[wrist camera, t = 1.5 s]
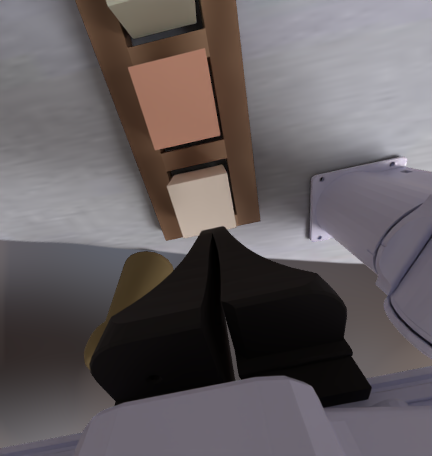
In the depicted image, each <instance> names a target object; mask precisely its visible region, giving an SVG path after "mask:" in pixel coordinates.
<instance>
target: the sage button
mask: <svg viewBox="0 0 432 456" xmlns="http://www.w3.org/2000/svg"><path fill="white" fill-rule="evenodd" d="M106 2H107V5H108V7H109V9H110V10H111V11H112V12H113V14H114V15H115V16H116V18H117V19H118V20H119V21H120V23H121V24H122V25H123V27H124V28H125V29H126V30H127V32H128V33H129V34H130V36H131V37H132V38H133V39H136V38H140V37H144V36H148V35H152V34H156V33H159V32H163V31H167V30H171V29H175V28H179V27H183V26H187V25H191V24H195V23H196V9H195V0H106Z"/></svg>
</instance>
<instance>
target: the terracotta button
mask: <svg viewBox="0 0 432 456" xmlns="http://www.w3.org/2000/svg"><path fill="white" fill-rule="evenodd" d="M128 70H129V73H130V76H131V79H132V82H133V85H134V88H135V91H136V94H137V97H138V100H139V103H140V106H141V109H142V112H143V115H144V119H145V122H146V125H147V128H148V131H149V134H150V137H151V140H152V143H153V146H154V149H155V150H159V149H164V148H168V147H172V146H177V145H181V144H185V143H190V142H194V141H198V140H203V139H207V138H212V137H216V136H220V130H219V125H218V119H217V113H216V108H215V102H214V96H213V91H212V85H211V79H210V73H209V68H208V62H207V56H206V51H205V48H203V49H199V50H195V51H191V52H187V53H183V54H179V55H175V56H171V57H167V58H163V59H159V60H155V61H151V62H147V63H143V64H139V65H135V66H131V67H128Z"/></svg>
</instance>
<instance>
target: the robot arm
mask: <svg viewBox="0 0 432 456" xmlns="http://www.w3.org/2000/svg"><path fill="white" fill-rule="evenodd" d="M391 162H392V163H391ZM390 163H391V165H390ZM406 164H407V158H406V157H396V158H392V159H387V160H382V161H378V162H373V163H368V164H364V165H359V166H355V167H350V168H345V169H341V170H336V171H331V172H327V173H322V174H318V175H314V176H313V177H312V178H311V196H310V240H311V241H312V242H317V241H322V240H327V239H332V238H334V239H335V240H336V241H338V242H339V243H340V244H341V245H342V246H344V247H345V248H346V249H347V250H348V251H350V252H351V253H352V254H353V255H354V256H356V257H357V258H358V259H359V260H360V261H362V262H363V263H364V264H365V265H367V266H368V267H369V268H370V269H371V270H373V271H374V272H375V273H376V274H377V275H378V279H377V281H376V285H377V286H378V287H379V288H380V289H381V290H382V291H383V292H385V293H386V294H387V295H388V296H387V298H386V299H385V301H384V309H385V312H386V314H387V316H388V318H389V319H390V321H391V322H392V324H393V325H394V326H395V327H396V328H397V330H398V331H399V332H400V333H401V334H402V336H404V337H405V339H407V340H408V341H409V342H410V343H411V344H412V345H413V346H414V347H416V348H417V349H418V350H419V351H421V352H422V353H423V354H425V355H426V356H428V357H429V358H430V359H432V172H429V171H424V170H419V169H413V168H408V167H406ZM321 177H323V179H322V180H321V181H320V178H321ZM318 236H320V237H319V238H318ZM225 317H226V319H225ZM346 319H347V309H346V306H345V304H344V302H343V301H342V300H341V298H340V297H339V296H338V295H337V293H336V292H335V291H334V290H333V289H332V288H331V287H330V286H329V285H328V283H326V282H325V281H324V280H323V279H322V278H321V277H320V276H319V275H318V274H317V273H313V272H309V271H304V270H300V269H295V268H291V267H288V266H285V265H281V264H279V263H276V262H273V261H271V260H268V259H266V258H264V257H262V256H260V255H258V254H256V253H254V252H252V251H251V250H249V249H248V248H246V247H245V246H244V245H242V244H241V243H240V242H239V241H238V240H236V239H235V238H234V237H233V236H232V235H231V234H230V233H229V232H228V230H227V229H226V227H224V226H221V227H216V228H212V229H207V230H203V231H201V233H200V234H199V236H198V238H197V240H196V241H195V243H194V245H193V246H192V248H191V249H190V251H189V252H188V254H187V255H186V257H185V258H184V259H183V261H182V262H181V263H180V264H179V265H178V266H177V267H176V268H175V270H174V271H173V272H172V273H171V274H169V275H168V276H167V277H166V278H165V279H164V280H163V281H162V282H161V283H160V284H158V285H157V286H156V287H155V288H153V289H152V290H151V291H150V292H148V293H147V294H146V295H144V296H143V297H141V298H140V299H139V300H137V301H136V302H134V303H133V304H131V305H129V306H128V307H126V308H125V309H123V310H122V311H120V312H118V313H117V314H115V315H113V316H112V317H111V318H110V320H109V322H108V324H107V326H106V328H105V330H104V332H103V334H102V336H101V338H100V341H99V343H98V345H97V347H96V349H95V351H94V353H93V355H92V357H91V360H90V364H89V366H90V371H91V374H92V376H93V377H94V378H95V380H96V381H97V382H98V383H99V385H100V386H102V388H103V389H104V390H105V391H106V392H107V393H108V394H109V395H110V396H111V397H112V398H113V399H114V400H115V401H116V402H115V406H113V407H111V408H108V409H105V410H102V411H100V412H99V413H98V414H96V415H95V416H94V417H93V418H92V419H91V420H90V422H89V423H88V425H87V426H86V427H85V428H84V430H83V432H82V433H77V434H71V435H66V436H61V437H55V438H51V439H45V440H40V441H35V442H29V443H24V444H19V445H13V446H9V447H4V448H0V456H432V366H429V367H423V368H418V369H413V370H407V371H402V372H397V373H392V374H386V375H381V376H376V377H371V378H365V376H364V375H363V373H362V372H361V370H360V369H359V367H358V366H357V364H356V363H355V361H354V360H353V358H352V357H351V356H352V354H353V352H352V349H351V348H350V346H349V345H348V343H347V342H346V341H345V339H344V332H345V325H346ZM226 321H227V325H228V328H229V332H230V335H231V339H232V342H233V346H234V349H235V355H236V361H237V368H238V373H239V377H240V378H241V380H238V381H235V377H234V370H233V364H232V357H231V352H230V345H229V340H228V339H229V338H228V332H227V325H226Z"/></svg>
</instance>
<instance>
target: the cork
mask: <svg viewBox="0 0 432 456" xmlns="http://www.w3.org/2000/svg"><path fill="white" fill-rule="evenodd" d="M173 271H174V270H173V266H172V264H171V263H170V262H169V260H168V259H166V258H165V257H163V256H162V255H160V254H157V253H155V252H148V251H144V252H137V253H135V254H133V255H131V256H130V257H129V258H128V259H127V260H126V262H125V264H124V267H123V270H122V273H121V276H120V279H119V282H118V285H117V288H116V291H115V294H114V297H113V300H112V303H111V306H110V309H109V313H108V315H107V318H106V321H105V322H104V323H102V324H101V325H100V326H98V327H97V328H96V330H95V331H94V332H93V333H92V335H91V337H90V338H89V340H88V343H87V345H86V348H85V351H84V360H85V365H86V366H87V367H88V368H89V370H90V366H89V364H90V360H91V357H92V355H93V353H94V351H95V349H96V347H97V345H98V343H99V341H100V338H101V336H102V334H103V332H104V330H105V328H106V326H107V324H108V322H109V320H110V318H111V317H112V316H113V315H115V314H117V313H118V312H120V311H122V310H123V309H125V308H126V307H128V306H129V305H131V304H133V303H134V302H136V301H137V300H139V299H140V298H141V297H143V296H144V295H146V294H147V293H148V292H150V291H151V290H152V289H153V288H155V287H156V286H157V285H158V284H160V283H161V282H162V281H163V280H164V279H165V278H166V277H167V276H168V275H169V274H171V273H172V272H173Z"/></svg>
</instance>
